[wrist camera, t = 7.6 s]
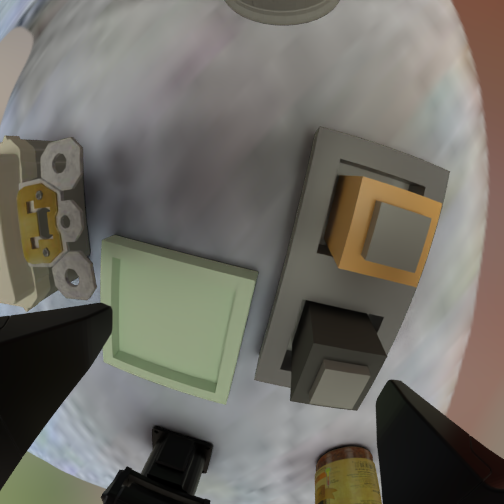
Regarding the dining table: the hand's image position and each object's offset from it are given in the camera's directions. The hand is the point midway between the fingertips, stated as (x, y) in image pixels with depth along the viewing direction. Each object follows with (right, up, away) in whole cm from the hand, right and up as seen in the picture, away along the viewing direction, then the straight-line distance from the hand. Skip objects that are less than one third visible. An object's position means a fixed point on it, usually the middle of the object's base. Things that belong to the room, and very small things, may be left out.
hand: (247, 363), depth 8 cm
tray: (-6, -2, +13) cm, 15 cm away
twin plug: (+5, -2, +11) cm, 13 cm away
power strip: (+6, +2, +11) cm, 13 cm away
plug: (+7, +6, +9) cm, 13 cm away
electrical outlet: (-21, +7, +13) cm, 26 cm away
